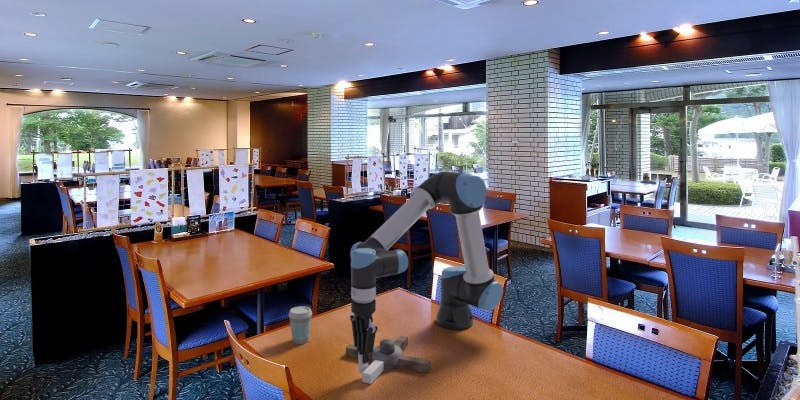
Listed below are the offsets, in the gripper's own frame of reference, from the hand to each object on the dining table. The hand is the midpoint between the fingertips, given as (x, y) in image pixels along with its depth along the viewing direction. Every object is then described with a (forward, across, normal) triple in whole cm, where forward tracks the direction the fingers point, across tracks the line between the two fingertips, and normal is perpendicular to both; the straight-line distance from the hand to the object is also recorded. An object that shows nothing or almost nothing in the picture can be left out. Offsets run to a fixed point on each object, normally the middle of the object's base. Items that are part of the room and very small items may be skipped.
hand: (363, 371), depth 141 cm
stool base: (+2, -4, +12) cm, 12 cm away
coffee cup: (+2, -36, -6) cm, 36 cm away
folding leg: (+2, +2, +3) cm, 3 cm away
